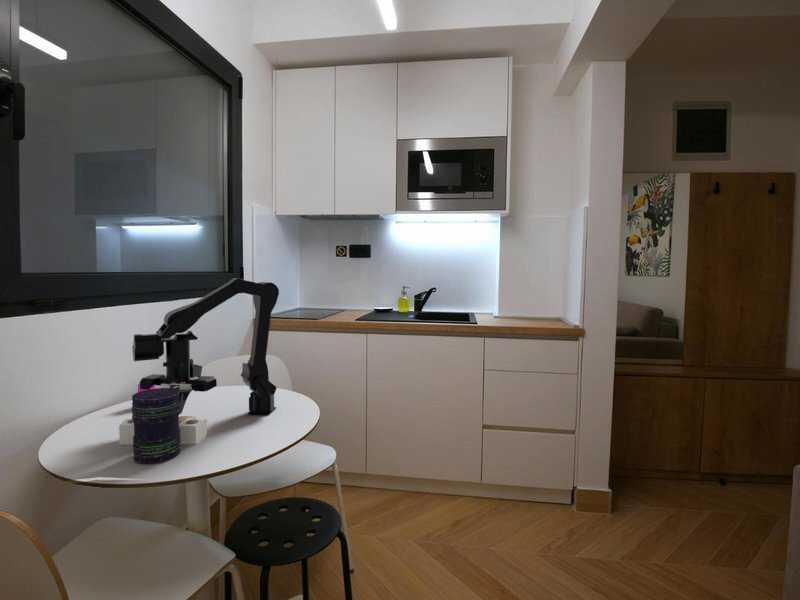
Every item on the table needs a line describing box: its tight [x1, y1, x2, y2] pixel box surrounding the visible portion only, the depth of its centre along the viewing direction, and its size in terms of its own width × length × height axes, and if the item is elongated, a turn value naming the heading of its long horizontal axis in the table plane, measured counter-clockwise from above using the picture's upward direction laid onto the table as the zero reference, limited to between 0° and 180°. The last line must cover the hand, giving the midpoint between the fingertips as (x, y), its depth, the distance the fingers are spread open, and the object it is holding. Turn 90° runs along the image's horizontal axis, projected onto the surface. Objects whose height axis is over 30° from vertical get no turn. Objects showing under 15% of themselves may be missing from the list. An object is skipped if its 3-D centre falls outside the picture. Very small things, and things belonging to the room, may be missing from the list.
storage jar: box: [131, 387, 181, 466], centre depth 100 cm, size 10×10×15 cm
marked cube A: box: [179, 418, 208, 445], centre depth 109 cm, size 5×5×5 cm
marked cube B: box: [118, 417, 134, 446], centre depth 109 cm, size 5×5×5 cm
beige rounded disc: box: [179, 415, 197, 424], centre depth 116 cm, size 8×8×3 cm
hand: (179, 413), depth 116 cm, fingers closed
